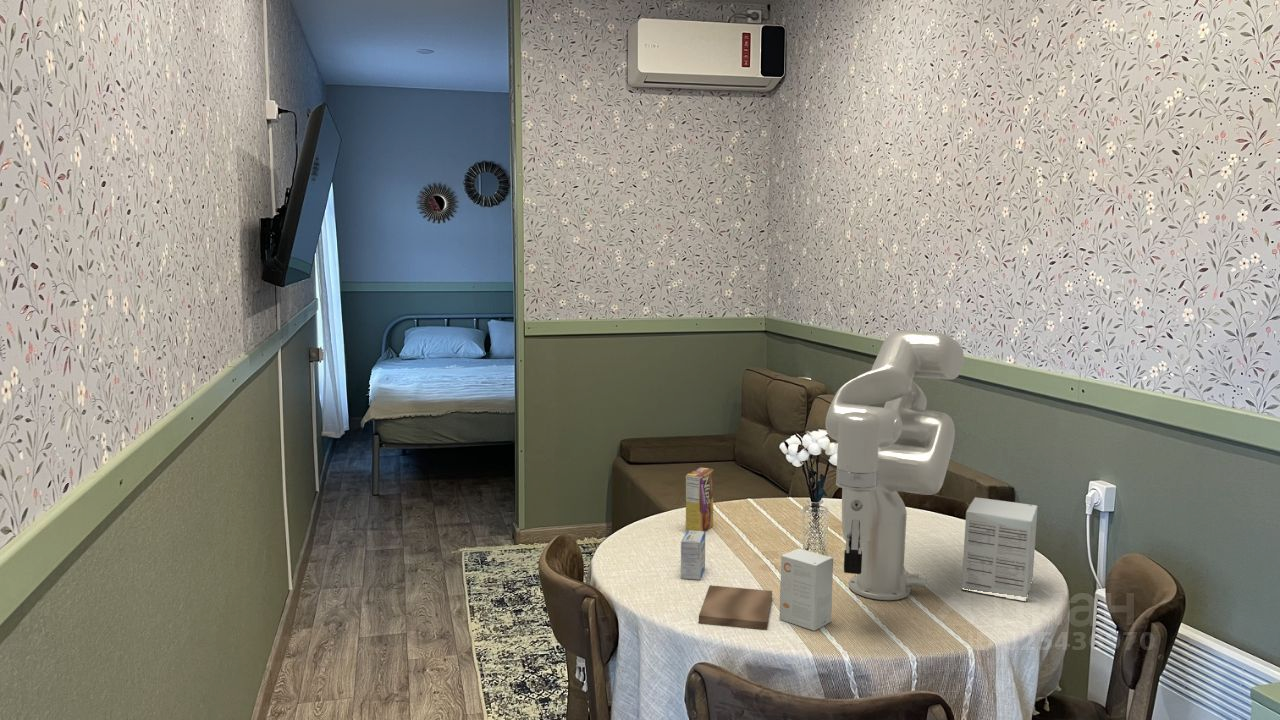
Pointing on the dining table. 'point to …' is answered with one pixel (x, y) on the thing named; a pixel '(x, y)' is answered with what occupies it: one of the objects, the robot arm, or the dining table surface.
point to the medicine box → (693, 555)
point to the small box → (806, 589)
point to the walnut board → (736, 607)
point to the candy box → (699, 500)
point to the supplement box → (999, 547)
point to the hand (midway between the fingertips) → (852, 571)
